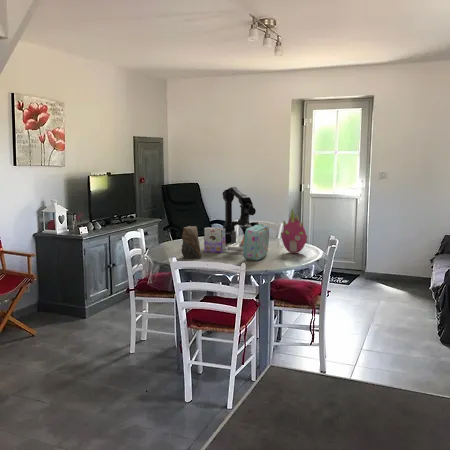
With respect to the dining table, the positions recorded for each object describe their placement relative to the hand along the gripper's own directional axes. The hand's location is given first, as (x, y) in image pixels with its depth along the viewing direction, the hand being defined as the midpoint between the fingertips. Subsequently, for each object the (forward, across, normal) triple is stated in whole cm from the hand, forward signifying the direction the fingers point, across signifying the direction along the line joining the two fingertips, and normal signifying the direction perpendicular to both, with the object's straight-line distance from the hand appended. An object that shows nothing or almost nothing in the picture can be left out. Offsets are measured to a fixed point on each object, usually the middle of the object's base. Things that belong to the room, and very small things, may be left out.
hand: (244, 236), depth 348 cm
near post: (+9, -12, -11) cm, 19 cm away
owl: (+10, -21, -41) cm, 47 cm away
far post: (+9, -12, +11) cm, 19 cm away
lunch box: (+10, +18, -27) cm, 33 cm away
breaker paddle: (+6, -2, 0) cm, 6 cm away
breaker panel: (+9, -2, 0) cm, 9 cm away
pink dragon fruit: (+9, +36, -4) cm, 38 cm away
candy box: (+9, -15, -18) cm, 25 cm away
